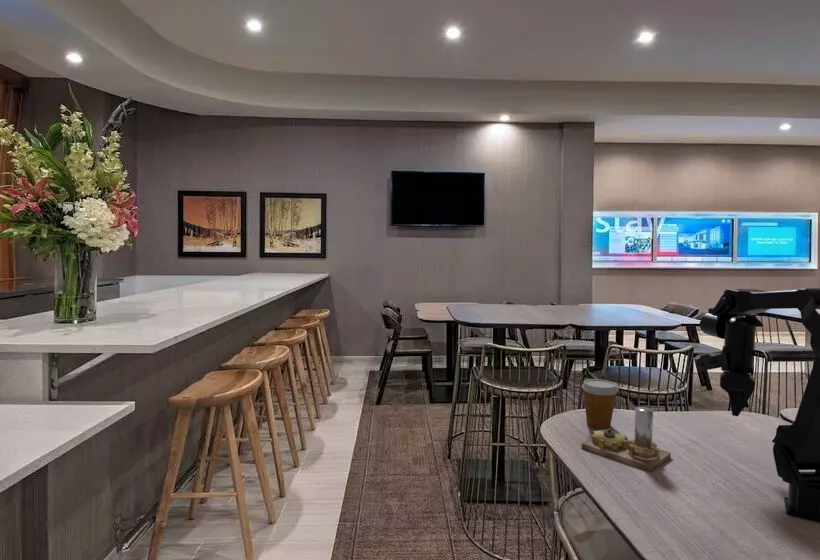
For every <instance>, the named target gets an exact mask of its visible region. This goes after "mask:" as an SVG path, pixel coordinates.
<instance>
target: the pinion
mask: <svg viewBox="0 0 820 560" xmlns="http://www.w3.org/2000/svg"><path fill="white" fill-rule="evenodd" d="M653 424H654V409H652V408H648V407H644V406H643V407H642V406H640V407H639V406H638V407H635V414H634V439H631V440H630V439H628V441H627V449H629V454H631V455H635V456H638V457H642V458H644V459H648V458H654V457H657V458H658V457H659V449H660V448H658V445H657V443H656V442H654V441H653V430H654V429H653V427H654V425H653Z"/></svg>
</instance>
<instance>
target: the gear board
mask: <svg viewBox="0 0 820 560" xmlns="http://www.w3.org/2000/svg"><path fill="white" fill-rule="evenodd" d="M628 440H629V439H628V436H627V435H623V434H622V433H620V432H619V431H616V430H612V428H611V427H609V428H606V429H601V430H593V431H592V434H591V437H590V438H589V439H587V440H585V441H583V442H582V443H581V449H583V450H587V451H589V450H590V452H592V451H593V453H595V452H597V453H596V454H598V453H599V455H601V456H605V457H607V458H610V457H611V458H610V459H613V458H614V459H613V460H616V459H617V460H616V461H618V460H620V461H619V462H621V461H623V462H622V463H624V462H625V464H627V463H628V465H630V464H631V465H630V466H633V467H636V468H640V469H643V470H644V471H647V472H653V471H654V470H656V469H657V468H658V467H660V466H661V465H662V464H664V463H665V462H666V461H668V460H669V459H671V456H672V453H671V452H669V451H667V450H663V449H660V448H659V457H658V458H657V457H654V458H648V459H644V458H642V457H638V456H635V455H631V454H629V449H627V441H628Z"/></svg>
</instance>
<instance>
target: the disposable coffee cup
mask: <svg viewBox="0 0 820 560" xmlns="http://www.w3.org/2000/svg"><path fill="white" fill-rule="evenodd" d="M581 388H582V390H583V398H584V399H583V400H584V409H585V416H586V424H587V425H588V426H589V425H590V427H591V426H593V427H592V428H595V427H598V428H597V429H601V428H605V429H608V427H609V428H611V426H612V425H611V424H612V418H613V413H614V407H615V402H616V395H617V392H618V391H619V388H618V387H617V383H616V382H613V381H610V380H607V379H606V380H605V379H602V378H589V379H585V380H584V381H583V384H582V385H581Z"/></svg>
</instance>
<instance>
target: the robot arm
mask: <svg viewBox="0 0 820 560" xmlns="http://www.w3.org/2000/svg"><path fill="white" fill-rule="evenodd" d="M773 309H774V310H779V309H780V310H781V309H782V310H783V309H786V310H787V309H789V310H790V309H797V310H798V311H799V312H800V320H801V324H802V325H803V326H804V327H805V329H807V330H808V332H809V333H810V340H809V345H810V347H811V349H812V353H813V355H814V357H815V359H814V362H813V365H812V368H811V371H810V374H809V377H808V379H807V382H806V386H805V388H804V392H803V395H802V398H801V401H800V403H799V407H798V410H797V412H796V414H795V415H796V416H795V418H794V421H793V423H791V424H779V425H778V426H777V428H776V430H775V436H774V438H773V439H772V440H771V442H772V443H773V446H772V447H773V448H772V453H773V459H774V463H775V468H776V472H777V473H776V474H777V476H778V477H780V478H781V479H782V482H785V483H787V484H788V493H787V497H786V496H784V497H783V501H784V502H783V503H784V508H785V509H784V510H785V513H786V514H787V515H791V516H793V517H799V518H804V519H806V520H811V521H816V522H817V523H820V313H819V311H817V310H820V287H817V288H816V287H813V288H812V287H807V288H806V287H805V288H804V287H802V288H799V289H791V290H775V291H774V290H773V291H766V290H763V289H757V288H728V289H725V290H723V294H722V295H721V296H720V298H719V299H718V301H717V303H716V305H715V306H714V307H713V308H712V307H710V308H708V311H707V313H705V314H704V315H703V316H702V317H701V320H700V321H699V328H700V330H701V331H702V333H703V334H705V335H708V336H712V337H715V338H718V339H721V340H724V342H723V343H724V345H722V348H721V350H720V351H714V352H709V353H708V352H706V353H701V354H697V355H696V356H695V358H694V360H695V363H696V366H697V368H698V371H699V372H701V373H702V372H706V371H709V370H713V369H714V370H715V369H719V368H720V370H721V371H722V373H720V377H719V387H720V388H721V389H722V390H723V391H725V392H726V393H727V395H728V400H729V404H730V409H731V415H732V416H733V417H739V416H740V414H741V413H742V411H743V409H744V407H745V406H746V404H747V403H748V401H749V399H750V398H751V396H752V394H753V393H754V392H755V388H756V387H755V385H756V384H755V383H756V381H755V380H756V379H755V378H754V374H755V373H754V372H755V365H754V364H755V363H754V362H755V343H756V341H755V340H756V329H757V328H761V327H764V324H763V322H762V321H761V320H760V319H758V317H757V315H756V314H760V313H761V314H762V313H765V312H767V311H769V310H773ZM756 327H757V328H756Z"/></svg>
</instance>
